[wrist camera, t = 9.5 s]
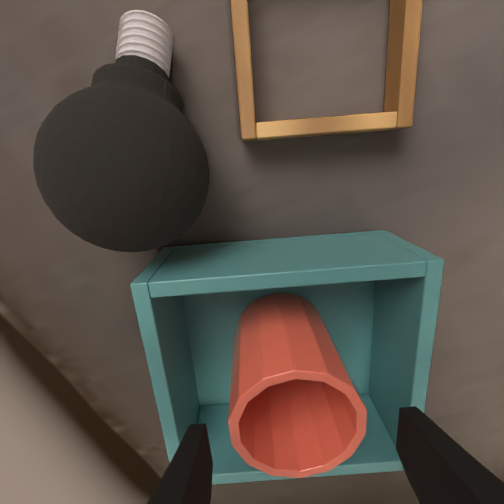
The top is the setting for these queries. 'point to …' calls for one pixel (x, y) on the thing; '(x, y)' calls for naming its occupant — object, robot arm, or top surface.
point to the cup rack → (394, 116)
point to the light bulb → (124, 149)
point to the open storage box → (331, 310)
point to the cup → (291, 391)
